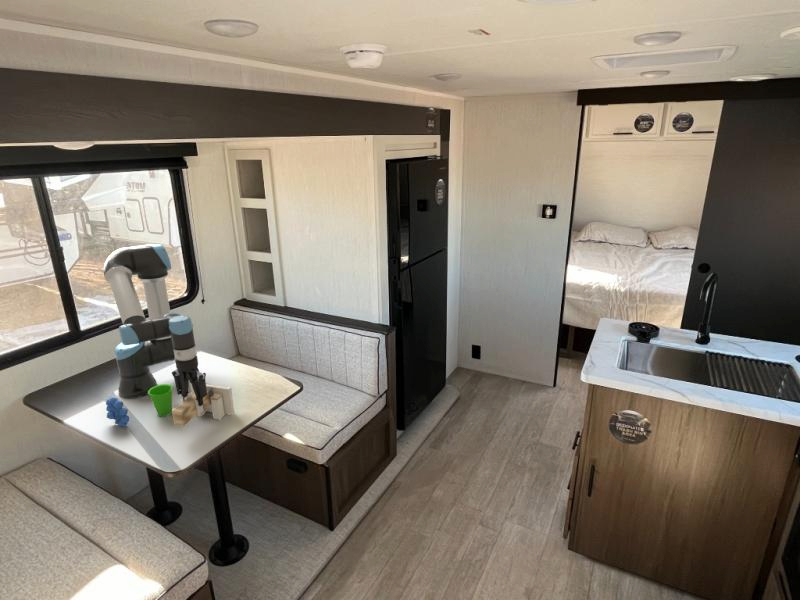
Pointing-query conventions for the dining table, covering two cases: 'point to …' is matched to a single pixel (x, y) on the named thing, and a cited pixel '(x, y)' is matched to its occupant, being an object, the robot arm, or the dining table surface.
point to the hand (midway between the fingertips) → (195, 411)
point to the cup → (162, 398)
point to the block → (189, 409)
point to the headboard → (219, 401)
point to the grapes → (117, 411)
